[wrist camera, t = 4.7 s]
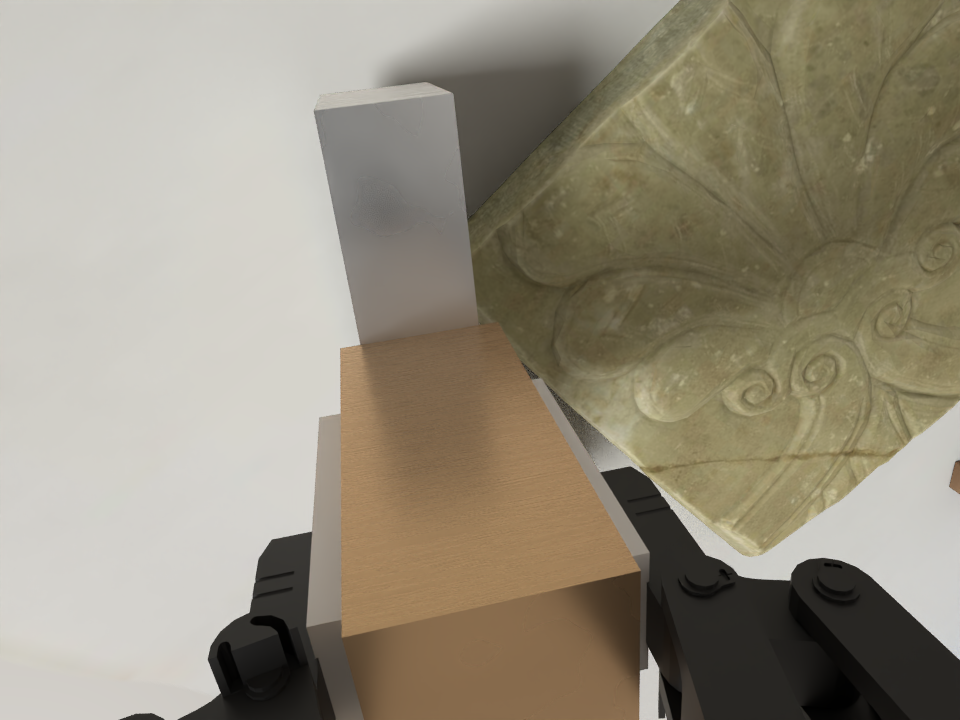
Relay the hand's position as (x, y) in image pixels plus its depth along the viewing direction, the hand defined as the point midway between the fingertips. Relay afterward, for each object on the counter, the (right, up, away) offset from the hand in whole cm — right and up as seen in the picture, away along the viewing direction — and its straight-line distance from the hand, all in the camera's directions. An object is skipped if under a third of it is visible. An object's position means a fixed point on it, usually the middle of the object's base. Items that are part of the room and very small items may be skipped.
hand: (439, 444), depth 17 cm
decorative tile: (+12, +6, +10) cm, 17 cm away
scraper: (-1, +3, +5) cm, 6 cm away
